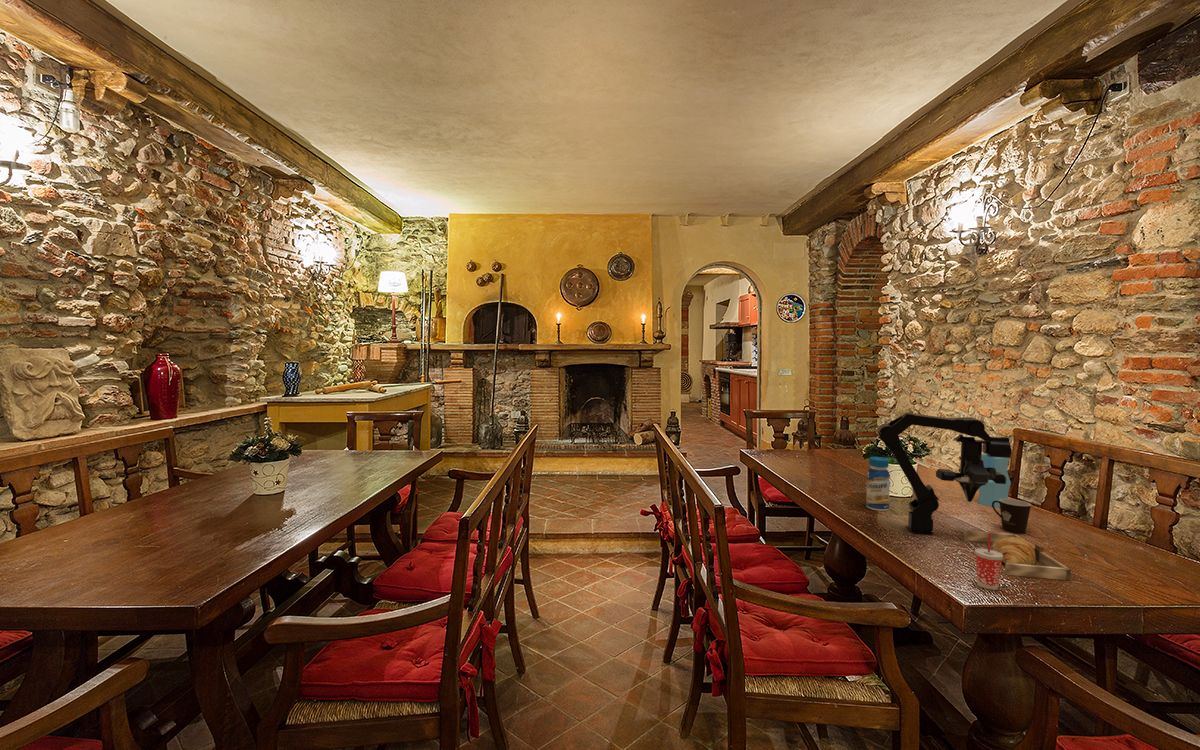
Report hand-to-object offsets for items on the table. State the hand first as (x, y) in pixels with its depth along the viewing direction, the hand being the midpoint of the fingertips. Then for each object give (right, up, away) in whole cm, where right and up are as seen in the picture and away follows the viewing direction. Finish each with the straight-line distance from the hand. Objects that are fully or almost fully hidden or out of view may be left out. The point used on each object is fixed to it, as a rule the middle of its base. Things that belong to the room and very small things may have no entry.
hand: (969, 501), depth 175 cm
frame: (+1, -13, -17) cm, 21 cm away
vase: (+36, -10, +37) cm, 52 cm away
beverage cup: (-20, -14, -36) cm, 43 cm away
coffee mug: (+20, -12, +8) cm, 25 cm away
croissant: (0, -13, -18) cm, 23 cm away
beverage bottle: (-14, -11, +32) cm, 36 cm away
